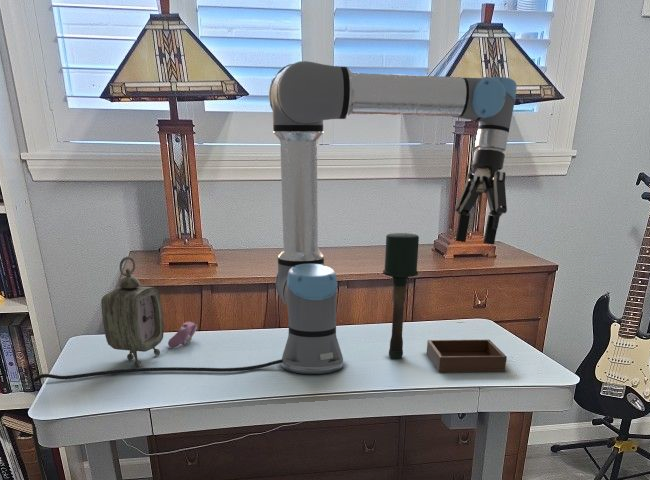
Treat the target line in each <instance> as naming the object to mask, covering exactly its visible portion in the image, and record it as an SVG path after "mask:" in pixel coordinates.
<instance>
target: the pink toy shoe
mask: <svg viewBox="0 0 650 480" xmlns="http://www.w3.org/2000/svg"><path fill="white" fill-rule="evenodd" d="M197 329H198V324H196V323H195V322H191V321H190V320H189V321H186V322H183V323H182V325H181V327H179V330H177V332H176V333H175V334H174V335H173V336H171V338H169V339H168V341H167V345H168V347H169V348H177V347H179V346H180V345H182V346H184V347H185V346H186V344H187V343H190V342H191V341H192V338H193V336H194V335H195V334H196V332H197Z"/></svg>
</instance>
